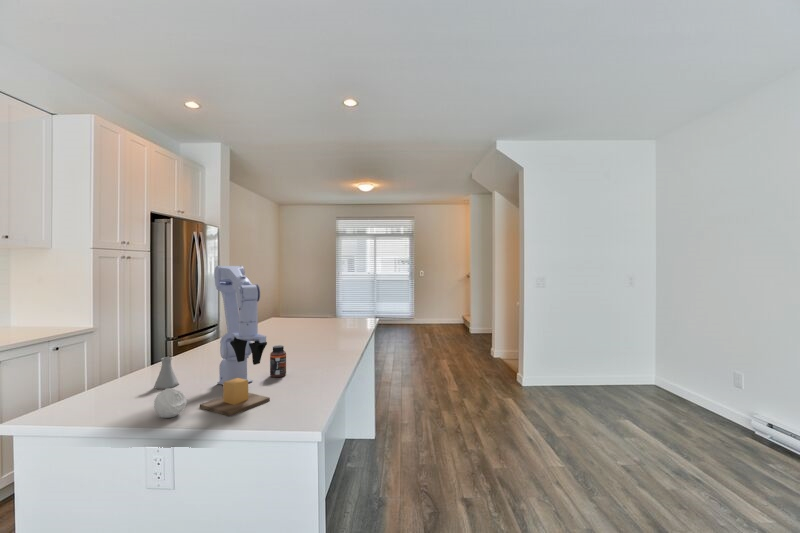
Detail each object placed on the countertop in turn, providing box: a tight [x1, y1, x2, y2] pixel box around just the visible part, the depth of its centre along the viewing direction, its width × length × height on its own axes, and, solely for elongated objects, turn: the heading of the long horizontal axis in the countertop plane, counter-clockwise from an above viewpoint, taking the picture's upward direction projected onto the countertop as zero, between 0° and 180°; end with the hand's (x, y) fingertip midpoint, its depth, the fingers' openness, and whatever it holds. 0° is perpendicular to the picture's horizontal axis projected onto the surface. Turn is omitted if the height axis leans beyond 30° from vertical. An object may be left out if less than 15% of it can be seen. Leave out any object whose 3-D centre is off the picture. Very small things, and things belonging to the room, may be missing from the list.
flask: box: [153, 356, 180, 390], centre depth 132 cm, size 7×7×10 cm
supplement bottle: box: [269, 344, 287, 378], centre depth 144 cm, size 6×6×11 cm
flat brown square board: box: [199, 392, 271, 417], centre depth 114 cm, size 14×14×4 cm
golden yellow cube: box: [222, 378, 249, 405], centre depth 114 cm, size 5×5×6 cm
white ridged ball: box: [153, 388, 188, 419], centre depth 105 cm, size 8×8×8 cm
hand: (248, 362), depth 123 cm, fingers open, 7 cm apart
